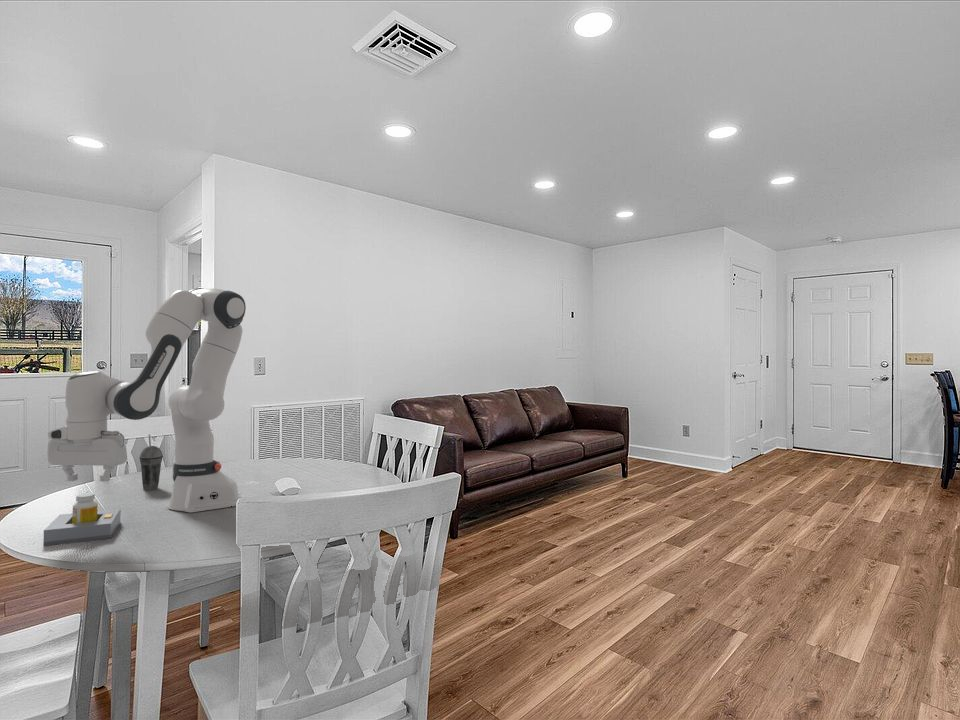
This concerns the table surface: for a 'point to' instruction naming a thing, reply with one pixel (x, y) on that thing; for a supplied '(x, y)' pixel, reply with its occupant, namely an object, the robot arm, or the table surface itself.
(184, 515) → the table surface
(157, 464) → the beverage cup
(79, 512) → the supplement bottle
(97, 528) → the dock
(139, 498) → the table surface
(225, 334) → the robot arm
